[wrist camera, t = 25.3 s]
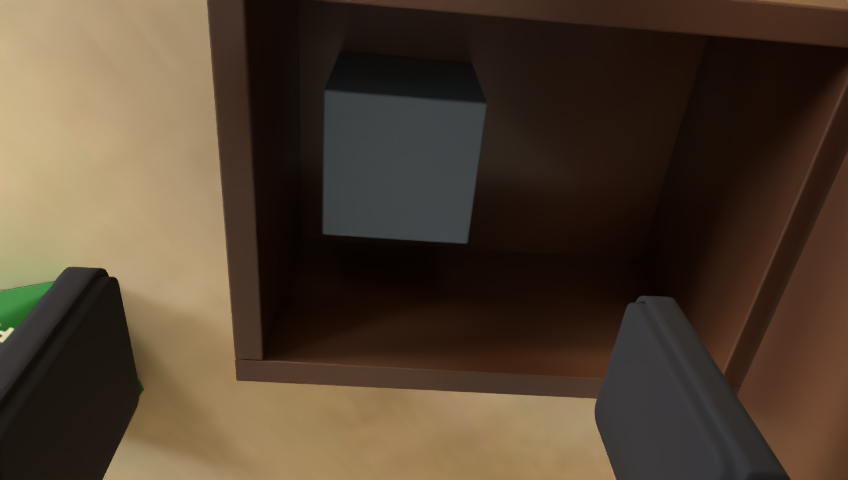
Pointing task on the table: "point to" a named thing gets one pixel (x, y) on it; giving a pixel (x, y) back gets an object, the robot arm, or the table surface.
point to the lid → (808, 354)
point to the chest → (531, 185)
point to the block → (401, 148)
